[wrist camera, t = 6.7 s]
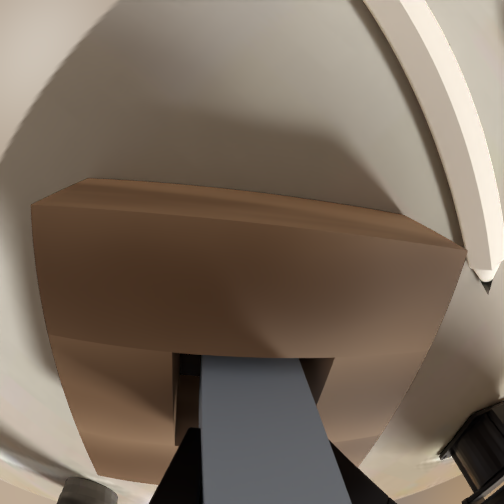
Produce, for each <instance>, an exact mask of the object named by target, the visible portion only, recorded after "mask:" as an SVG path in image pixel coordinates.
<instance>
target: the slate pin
mask: <svg viewBox="0 0 504 504" xmlns="http://www.w3.org/2000/svg"><path fill="white" fill-rule="evenodd" d="M199 428H201V457H202V489H201V504H352V503H351V500H350V498H349V495H348V492H347V489H346V486H345V484H344V481H343V478H342V475H341V473H340V470H339V467H338V464H337V462H336V459H335V456H334V453H333V451H332V448H331V445H330V442H329V440H328V437H327V434H326V431H325V429H324V426H323V423H322V420H321V418H320V415H319V412H318V410H317V407H316V404H315V401H314V399H313V396H312V393H311V391H310V388H309V385H308V382H307V380H306V377H305V374H304V372H303V369H302V366H301V363H300V361H299V358H256V357H231V356H213V355H201V368H200V384H199Z"/></svg>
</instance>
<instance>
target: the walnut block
mask: <svg viewBox="0 0 504 504" xmlns="http://www.w3.org/2000/svg"><path fill="white" fill-rule="evenodd" d="M31 220H32V234H33V246H34V255H35V264H36V271H37V279H38V285H39V291H40V297H41V303H42V308H43V313H44V318H45V323H46V328H47V332H48V336H49V341H50V345H51V349H52V352H53V356H54V360H55V364H56V367H57V371H58V374H59V377H60V381H61V384H62V387H63V390H64V393H65V396H66V399H67V402H68V405H69V408H70V410H71V413H72V416H73V419H74V421H75V424H76V426H77V429H78V431H79V434H80V436H81V439H82V441H83V443H84V446H85V448H86V450H87V453H88V455H89V457H90V459H91V461H92V464H93V466H94V468H95V470H96V472H97V474H98V475H100V476H105V477H110V478H115V479H121V480H127V481H133V482H140V483H147V484H156V485H159V483H160V481H161V480H162V478H163V476H164V474H165V472H166V470H167V468H168V466H169V464H170V462H171V460H172V458H173V457H174V455H175V453H176V451H177V449H178V447H179V445H180V443H181V441H182V439H183V437H184V435H185V433H186V431H187V429H188V428H190V427H194V428H199V384H200V376H191V375H180V353H185V354H198V355H213V356H231V357H256V358H299V361H300V363H301V366H302V369H303V372H304V374H305V377H306V380H307V382H308V385H309V388H310V391H311V393H312V396H313V399H314V401H315V404H316V407H317V410H318V412H319V415H320V418H321V420H322V423H323V426H324V429H325V431H326V434H327V437H328V439H329V440H330V441H331V442H332V443H333V444H334V445H335V446H336V447H337V448H338V449H339V450H340V451H341V452H342V453H343V454H344V455H345V456H346V457H347V458H348V459H349V460H350V461H351V462H352V463H353V464H354V465H355V466H356V467H357V468H358V466H359V465H360V464H361V462H362V461H363V459H364V458H365V457H366V455H367V454H368V453H369V451H370V450H371V448H372V447H373V445H374V444H375V442H376V441H377V440H378V438H379V437H380V435H381V434H382V432H383V431H384V429H385V427H386V426H387V424H388V423H389V421H390V420H391V418H392V416H393V415H394V413H395V411H396V410H397V408H398V406H399V405H400V403H401V401H402V400H403V398H404V396H405V395H406V393H407V391H408V389H409V387H410V386H411V384H412V382H413V380H414V378H415V376H416V375H417V373H418V371H419V369H420V367H421V365H422V363H423V361H424V359H425V357H426V355H427V353H428V351H429V349H430V347H431V345H432V342H433V340H434V338H435V336H436V334H437V332H438V329H439V327H440V325H441V322H442V320H443V318H444V315H445V313H446V311H447V308H448V306H449V303H450V301H451V298H452V295H453V293H454V290H455V288H456V285H457V282H458V279H459V277H460V274H461V271H462V268H463V265H464V262H465V259H466V256H467V253H468V250H466V249H464V248H463V247H461V246H459V245H458V244H456V243H454V242H452V241H451V240H449V239H447V238H445V237H444V236H442V235H440V234H438V233H436V232H435V231H433V230H431V229H429V228H427V227H426V226H424V225H422V224H420V223H418V222H416V221H414V220H412V219H411V218H409V217H407V216H405V215H401V214H396V213H391V212H385V211H379V210H374V209H368V208H362V207H356V206H350V205H344V204H338V203H331V202H325V201H318V200H311V199H304V198H297V197H290V196H283V195H275V194H267V193H259V192H251V191H242V190H233V189H224V188H215V187H205V186H194V185H183V184H171V183H159V182H145V181H131V180H114V179H94V178H87V179H85V180H83V181H80V182H78V183H76V184H74V185H71V186H69V187H67V188H65V189H62V190H60V191H58V192H56V193H54V194H52V195H50V196H48V197H45V198H43V199H41V200H39V201H37V202H35V203H33V204H31Z"/></svg>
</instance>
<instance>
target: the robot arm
mask: <svg viewBox="0 0 504 504" xmlns="http://www.w3.org/2000/svg"><path fill="white" fill-rule="evenodd" d="M328 440H329V439H328ZM329 442H330V445H331V448H332V451H333V453H334V456H335V459H336V462H337V464H338V467H339V470H340V473H341V475H342V478H343V481H344V484H345V486H346V489H347V492H348V495H349V498H350V500H351V503H352V504H397V503H395V502H394V501H393V500H392V499H391V498H388V495H386V494H385V493H384V492H383V491H382V490H381V489H380V488H379V487H378V486H377V485H376V484H374V483H373V482H372V481H371V480H370V479H369V478H368V477H367V476H366V475H365V474H364V473H363V472H362V471H361V470H360V469H358V468H357V467H356V466H355V465H354V464H353V463H352V462H351V461H350V460H349V459H348V458H347V457H346V456H345V455H344V454H343V453H342V452H341V451H340V450H339V449H338V448H337V447H336V446H335V445H334V444H333V443H332V442H331V441H330V440H329ZM450 456H452V457H453V459H454V461H455V462H456V464H457V465H458V467H459V469H460V470H461V472H462V474H463V475H464V477H465V478H466V480H467V482H468V484H469V485H470V487H471V489H472V490H473V492H474V494H472V495H471V496H470V497H468V498H466V499H464V500H463V501H462V504H504V485H503V486H502V487H501V488H500V489H499V490H497V491H496V492H495V493H494V494H492V495H491V496H490V497H488V499H486V500H485V499H484V497H485V496H486V495H487V494H489V493H490V492H491V491H492V490H494V489H495V488H496V487H497V486H499V485H500V484H501V483H502V482H503V481H504V401H503V402H501V403H499V404H496V405H494V406H491V407H489V408H486V409H484V410H481V411H479V412H476V413H474V414H473V415H472V416H471V417H470V418H469V419H468V421H467V422H466V423H465V425H464V426H463V427H462V429H461V430H460V431H459V433H458V434H457V435H456V436H455V438H454V439H453V440H452V441H451V443H450V444H449V445H448V446H447V447H446V449H445V450H444V451H443V452H442V453H441V454H440V456H439V458H440V460H443V459H445V458H448V457H450ZM201 489H202V457H201V428H194V427H190V428H188V429H187V431H186V433H185V435H184V437H183V439H182V441H181V443H180V445H179V447H178V449H177V451H176V453H175V455H174V457H173V458H172V460H171V462H170V464H169V466H168V468H167V470H166V472H165V474H164V476H163V478H162V480H161V481H160V483H159V485H158V487H157V489H156V491H155V493H154V495H153V497H152V498H151V500H150V502H149V504H201Z"/></svg>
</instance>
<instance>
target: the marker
mask: <svg viewBox="0 0 504 504" xmlns="http://www.w3.org/2000/svg"><path fill="white" fill-rule="evenodd" d="M363 2H364V3H365V5H366V6H367V8H368V9H369V11H370V13H371V14H372V16H373V17H374V19H375V20H376V22H377V24H378V25H379V27H380V29H381V30H382V32H383V34H384V35H385V37H386V39H387V41H388V42H389V44H390V46H391V48H392V50H393V51H394V53H395V55H396V57H397V59H398V61H399V63H400V65H401V67H402V68H403V70H404V72H405V74H406V76H407V79H408V81H409V83H410V85H411V87H412V89H413V91H414V93H415V96H416V98H417V100H418V102H419V105H420V107H421V109H422V112H423V114H424V116H425V119H426V121H427V124H428V126H429V129H430V131H431V134H432V137H433V139H434V142H435V145H436V147H437V150H438V153H439V156H440V159H441V162H442V165H443V168H444V171H445V174H446V177H447V181H448V184H449V187H450V191H451V194H452V198H453V201H454V205H455V209H456V213H457V217H458V221H459V225H460V230H461V234H462V239H463V243H464V248H465V249H466V250H468V253H467V256H466V258H467V261H468V264H469V267H470V269H473V270H474V271H475V272H476V274H477V275H478V277H479V279H480V281H481V283H482V285H483V286H484V288H485V290H486V292H487V294H489V290H490V287H491V284H492V280H493V277H494V275H495V273H496V271H497V269H498V267H499V265H500V263H501V262H502V261H503V260H504V224H503V217H502V211H501V205H500V199H499V194H498V188H497V184H496V179H495V174H494V170H493V166H492V162H491V158H490V154H489V150H488V146H487V143H486V139H485V136H484V132H483V129H482V126H481V123H480V120H479V117H478V114H477V111H476V108H475V105H474V102H473V99H472V97H471V94H470V91H469V89H468V86H467V84H466V81H465V79H464V76H463V74H462V72H461V69H460V67H459V65H458V62H457V60H456V58H455V56H454V54H453V52H452V49H451V47H450V45H449V43H448V41H447V39H446V37H445V35H444V33H443V31H442V30H441V28H440V26H439V24H438V22H437V20H436V19H435V17H434V15H433V13H432V11H431V10H430V8H429V6H428V5H427V3H426V1H425V0H363Z"/></svg>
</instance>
